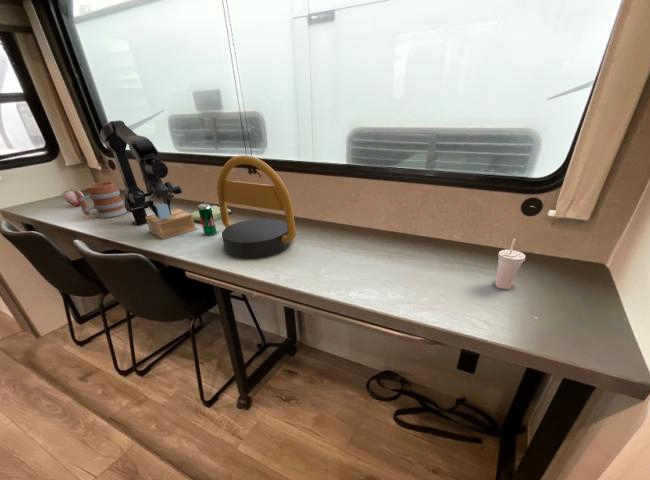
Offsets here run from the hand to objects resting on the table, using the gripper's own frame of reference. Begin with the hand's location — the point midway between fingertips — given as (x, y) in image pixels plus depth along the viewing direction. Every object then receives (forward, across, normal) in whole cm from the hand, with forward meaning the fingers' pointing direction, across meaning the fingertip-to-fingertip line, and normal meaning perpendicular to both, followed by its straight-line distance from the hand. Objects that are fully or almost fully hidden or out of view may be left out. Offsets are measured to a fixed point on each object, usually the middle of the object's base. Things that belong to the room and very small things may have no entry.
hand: (162, 214), depth 135 cm
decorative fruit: (+9, -15, +88) cm, 89 cm away
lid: (+3, +3, +4) cm, 6 cm away
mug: (+9, -9, +54) cm, 55 cm away
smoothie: (+9, +45, -119) cm, 127 cm away
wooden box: (+9, +3, +4) cm, 10 cm away
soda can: (+9, +12, -14) cm, 20 cm away
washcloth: (+9, +23, +7) cm, 26 cm away
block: (+1, 0, 0) cm, 1 cm away
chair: (+9, +18, -40) cm, 45 cm away
